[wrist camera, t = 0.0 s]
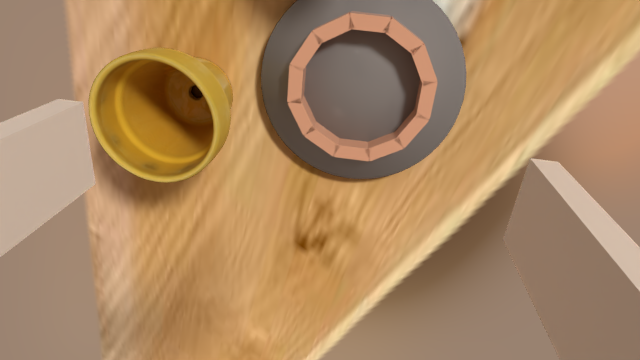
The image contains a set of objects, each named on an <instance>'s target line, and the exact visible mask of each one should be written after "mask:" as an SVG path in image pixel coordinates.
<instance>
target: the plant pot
mask: <svg viewBox="0 0 640 360" xmlns="http://www.w3.org/2000/svg"><path fill="white" fill-rule="evenodd" d="M195 85H196V86H197V87H198V88H199V90H200V91H201V92H202V94H203V96H202V97H201V98H196V97H194V96H193V95H192V93H191V89H192V87H193V86H195ZM232 101H233V92H232V87H231V84H230V82H229V80H228V78H227V76H226V75H225V73H224V72H223V71H222V70H221V69H220V68H219V67H218V66H217V65H215V64H214V63H212V62H210V61H208V60H206V59H203V58H198V57H192V56H190V55H188V54H186V53H183V52H181V51H178V50H174V49H169V48H150V49H144V50H139V51H135V52H132V53H129V54H126V55H123V56H120V57H118V58H116V59H115V60H113V61H111V62H110V63H108V64H107V65H106V66H105V67H104V68H103V69H102V70H101V71H100V72H99V74H98V75H97V77H96V78H95V80H94V82H93V85H92V87H91V90H90V95H89V116H90V121H91V125H92V128H93V131H94V133H95V135H96V137H97V139H98V141H99V143H100V145H101V146H102V147H103V149H104V150H105V152H106V153H107V154H108V155H109V156H110V157H111V158H112V159H113V160H114V161H115V162H116V163H117V164H118V165H120V166H121V167H122V168H124V169H125V170H127V171H128V172H130V173H132V174H134V175H136V176H138V177H140V178H143V179H146V180H149V181H154V182H163V183H170V182H178V181H182V180H185V179H188V178H190V177H192V176H194V175H196V174H197V173H199V172H200V171H202V170H203V169H204V168H205V167H206V166H207V165H208V164H209V163H210V162H211V161H212V160H213V159H214V158H215V156H216V155H217V154H218V153H219V151H220V150H221V148H222V147H223V145H224V143H225V141H226V139H227V136H228V133H229V129H230V121H231V115H230V109H231V106H232Z"/></svg>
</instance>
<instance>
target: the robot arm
mask: <svg viewBox="0 0 640 360" xmlns="http://www.w3.org/2000/svg"><path fill="white" fill-rule="evenodd" d="M95 184H96V183H95V177H94V170H93V164H92V157H91V151H90V144H89V138H88V132H87V125H86V119H85V112H84V106H83V102H79V101H71V100H63V99H57V100H55V101H52V102H50V103H47V104H45V105H43V106H40V107H38V108H35V109H33V110H30V111H28V112H25V113H23V114H21V115H18V116H16V117H13V118H11V119H9V120H6V121H3V122H1V123H0V257H1V256H2V255H4V254H5V253H6V252H8V251H9V250H10V249H11V248H13V247H14V246H15V245H16V244H18V243H19V242H21V241H22V240H23V239H24V238H26V237H27V236H28V235H30V234H31V233H32V232H33V231H35V230H36V229H38V228H39V227H40V226H41V225H43V224H44V223H45V222H46V221H48V220H49V219H51V218H52V217H53V216H54V215H56V214H57V213H58V212H60V211H61V210H62V209H63V208H65V207H66V206H67V205H69V204H70V203H71V202H73V201H74V200H75V199H77V198H78V197H79V196H80V195H82V194H83V193H84V192H86V191H87V190H88V189H90V188H91V187H92V186H93V185H95ZM503 241H504V243H505V245H506V248H507V249H508V252H509V254H510V256H511V258H512V260H513V262H514V264H515V266H516V269H517V271H518V273H519V275H520V277H521V279H522V281H523V283H524V285H525V288H526V290H527V292H528V294H529V296H530V298H531V300H532V302H533V305H534V307H535V309H536V311H537V313H538V315H539V317H540V319H541V321H542V323H543V326H544V328H545V330H546V332H547V333H548V336H549V338H550V340H551V343H552V345H553V347H554V349H555V351H556V353H557V355H558V357H559V359H560V360H640V247H639V246H638V245H637V244H636V243H635V242H634V241H633V240H632V239H631V238H630V237H629V236H628V235H627V234H626V233H625V232H624V231H623V230H622V229H621V227H620V226H619V225H618V224H617V223H616V222H615V221H614V220H613V219H612V218H611V217H610V216H609V215H608V214H607V213H606V212H605V211H604V210H603V208H602V207H601V206H600V205H599V204H598V203H597V202H596V201H595V200H594V199H593V198H592V197H591V196H590V195H589V194H588V193H587V192H586V191H585V190H584V189H583V187H582V186H580V185H579V183H578V182H577V181H576V180H575V179H574V178H573V177H572V176H571V175H570V174H569V173H568V172H567V171H566V170H565V169H564V168H563V166H562V165H561V164H560V163H559V162H555V161H547V160H539V159H531V158H530V160H529V163H528V167H527V169H526V172H525V176H524V178H523V182H522V184H521V188H520V190H519V193H518V196H517V199H516V202H515V206H514V208H513V211H512V214H511V217H510V220H509V223H508V226H507V229H506V233H505V235H504V238H503Z"/></svg>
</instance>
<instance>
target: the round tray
mask: <svg viewBox="0 0 640 360" xmlns="http://www.w3.org/2000/svg"><path fill="white" fill-rule="evenodd" d="M261 86H262V94H263V100H264V104H265V107H266V111H267V114H268V116H269V118H270V121H271V123H272V125H273V127H274V128H275V130H276V132H277V134H278V135H279V136H280V138H281V139H282V140H283V142H284V143H285V144H286V145H287V146H288V147H289V148H290V149H291V150H292V151H293V152H294V153H295V154H296V155H297V156H298V157H300V158H301V159H302V160H303V161H305V162H307V163H308V164H310V165H312V166H313V167H315V168H317V169H319V170H322V171H324V172H326V173H329V174H332V175H336V176H340V177H345V178H353V179H372V178H379V177H385V176H388V175H392V174H395V173H398V172H400V171H403V170H405V169H408V168H409V167H411V166H413V165H415V164H416V163H418V162H420V161H421V160H422V159H424V158H425V157H426V156H428V155H429V154H430V153H431V152H432V151H433V150H434V149H435V148H437V147H438V146H439V144H440V143H441V142H442V141H443V140H444V138H445V137H446V136H447V134H448V133H449V131H450V130H451V128H452V126H453V125H454V123H455V121H456V119H457V116H458V114H459V112H460V109H461V106H462V102H463V99H464V93H465V87H466V65H465V57H464V53H463V49H462V45H461V42H460V40H459V37H458V35H457V32H456V30H455V29H454V27H453V25H452V23H451V22H450V20H449V19H448V17H447V16H446V15H445V13H444V12H443V11H442V10H441V8H440V7H439V6H438V5H437V4H435V3H434V2H433V1H432V0H297V1H296V2H295V3H294V4H293V5H292V6H291V7H290V8H289V9H288V10H287V11H286V12H285V14H284V15H283V16H282V18H281V19H280V21H279V22H278V23H277V25H276V27H275V29H274V30H273V32H272V34H271V36H270V38H269V41H268V44H267V46H266V49H265V53H264V58H263V62H262V72H261Z"/></svg>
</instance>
